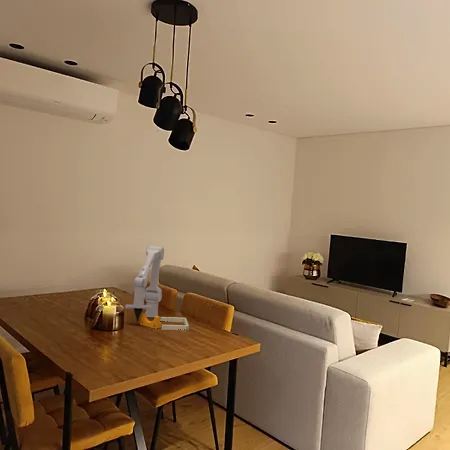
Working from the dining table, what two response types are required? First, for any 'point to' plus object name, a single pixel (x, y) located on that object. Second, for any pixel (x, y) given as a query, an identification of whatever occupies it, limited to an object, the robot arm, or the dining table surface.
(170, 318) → the bracket
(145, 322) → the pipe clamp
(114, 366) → the dining table surface
